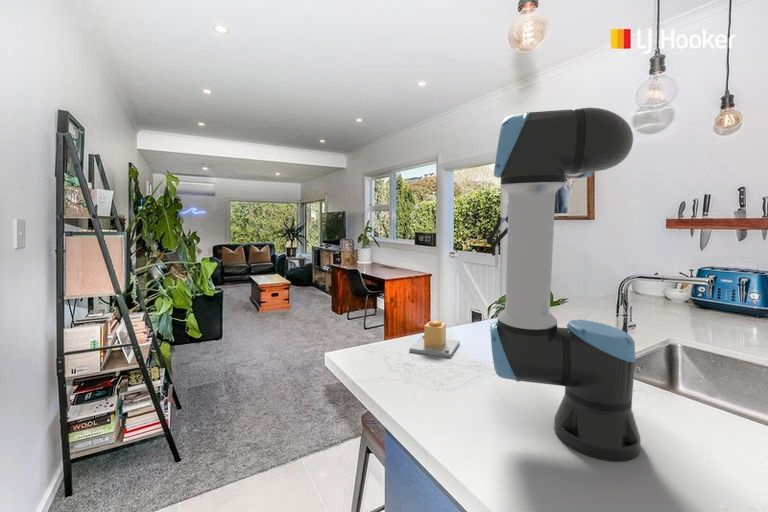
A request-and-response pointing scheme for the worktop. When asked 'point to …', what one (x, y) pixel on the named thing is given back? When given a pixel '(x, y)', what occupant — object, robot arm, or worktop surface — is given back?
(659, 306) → the worktop surface
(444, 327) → the single stud toy brick
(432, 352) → the plate
